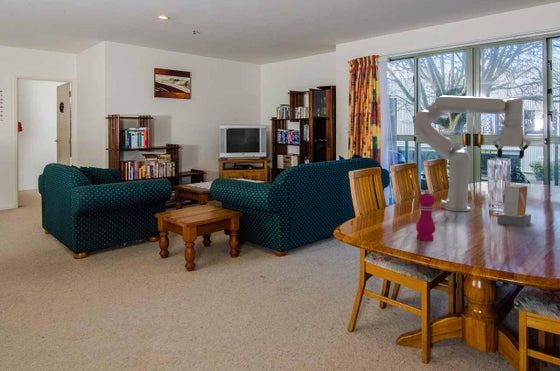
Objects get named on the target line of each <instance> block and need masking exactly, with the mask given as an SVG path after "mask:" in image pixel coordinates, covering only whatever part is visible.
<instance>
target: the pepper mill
mask: <svg viewBox="0 0 560 371" xmlns="http://www.w3.org/2000/svg"><path fill="white" fill-rule="evenodd" d="M435 201H436V199H435V197H434V195H432V194H431V193H430V190H429V189H425V190H424V193H422V194H421V195H420V196H419V198H418V203H419V209H420V217H419V219H418V221H417V223H416V226H415V230H416V232H417V235H416V239H417V240H419V241H422V242H432V241H434V233H435V232H436V226H435V222H434V220H433V215H432V214H433V213H432V212H433V210H434V206H433V205H434V204H435Z"/></svg>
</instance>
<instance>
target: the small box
mask: <svg viewBox="0 0 560 371" xmlns="http://www.w3.org/2000/svg"><path fill="white" fill-rule="evenodd" d="M504 188H505V190H504V203H503V204H504V205H503V212H504V214H509V215H516V216H518V215H521V214H525V213H526V209H527V198H528V197H527V196H528V186H527V185H520V184H509V185H505V187H504Z"/></svg>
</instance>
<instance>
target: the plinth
mask: <svg viewBox="0 0 560 371" xmlns="http://www.w3.org/2000/svg"><path fill="white" fill-rule="evenodd" d="M531 219H532V213H526V212H525V214H521V215H518V216H516V215H509V214H504V211H503V212H500V213H498V214H497V221H496V223H497V224H501V225H503V224H504V225H510V226H516V227H523V228H524V227H526V226H527V225H529V224H530V223H531Z"/></svg>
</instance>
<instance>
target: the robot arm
mask: <svg viewBox="0 0 560 371" xmlns="http://www.w3.org/2000/svg"><path fill="white" fill-rule="evenodd" d="M523 104H524V102H523V98H507V99H502V98H501V97H500V98H499V97H483V96H482V97H481V96H480V97H478V96H475V97H474V96H462V95H440V96H438V97H436V99H435V100H434V102H433V103H431V105H429V106H427V107H426V108H425V109H422V110H419V111H418V112H416V114H415V116H414V119H413V127H414V131H415V133H416V135H417V137H419V138H420V139H421V140H423V141H424V142H425V143H426V144H427V145H428V146H429V147H431V149H433V150H434V151H435V152H436V153H437V154H438V155H442V156H443V157H445V159H447V160H448V161H449V176H448V177H449V178H448V199H447V200H443V199H441V201H440V203H441V205H445V206H444V209H445V210H448V211H450V212H451V211H452V212H469V211H471V207H470V206H468V202H469V201H468V200H469V199H468V197H469V182H470V181H469V180H470V179H469V178H470V166H471V165H470V164H471V163H470V162H471V156H470V153H469V152H468V151H467V150H466V149H465V148H464V147H462V146H460V144H458V143H457V142H455V140H453V139H452V138H450V137H448V136H445V135H443V134H442V133H441V132H440V131H439V130H437V129H436V128H435V127H434V126H432V124H433V123H434V122H436V121H437V120H439V118H441V117H442V116H444V115H445V114H446V113H456V114H473V113H474V114H475V113H476V114H477V113H478V114H479V113H480V114H481V113H482V114H483V113H484V114H493V115H498V114H504V120H503V121H501V122H500V123H501V125H503V126H502V127H501V130H500V135H499V138H496V139H495V140H492V143H493V145H494V148H496V149H497V157H498V159H501V158H502V157H503V148H504V147H509V148H510V147H516V148H517V147H518V148H519V149H520V150H519V154H518V158H519V159H520V160H521V159H523V158H524V156H525V150H527V149H528V148H529V147H530V145H531V144H532V142H531V140H528V139H526V138H525V137H524V128H523V126H522V121H523V120H522V119H523V106H524V105H523ZM524 143H526V144H525V145H524Z"/></svg>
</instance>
